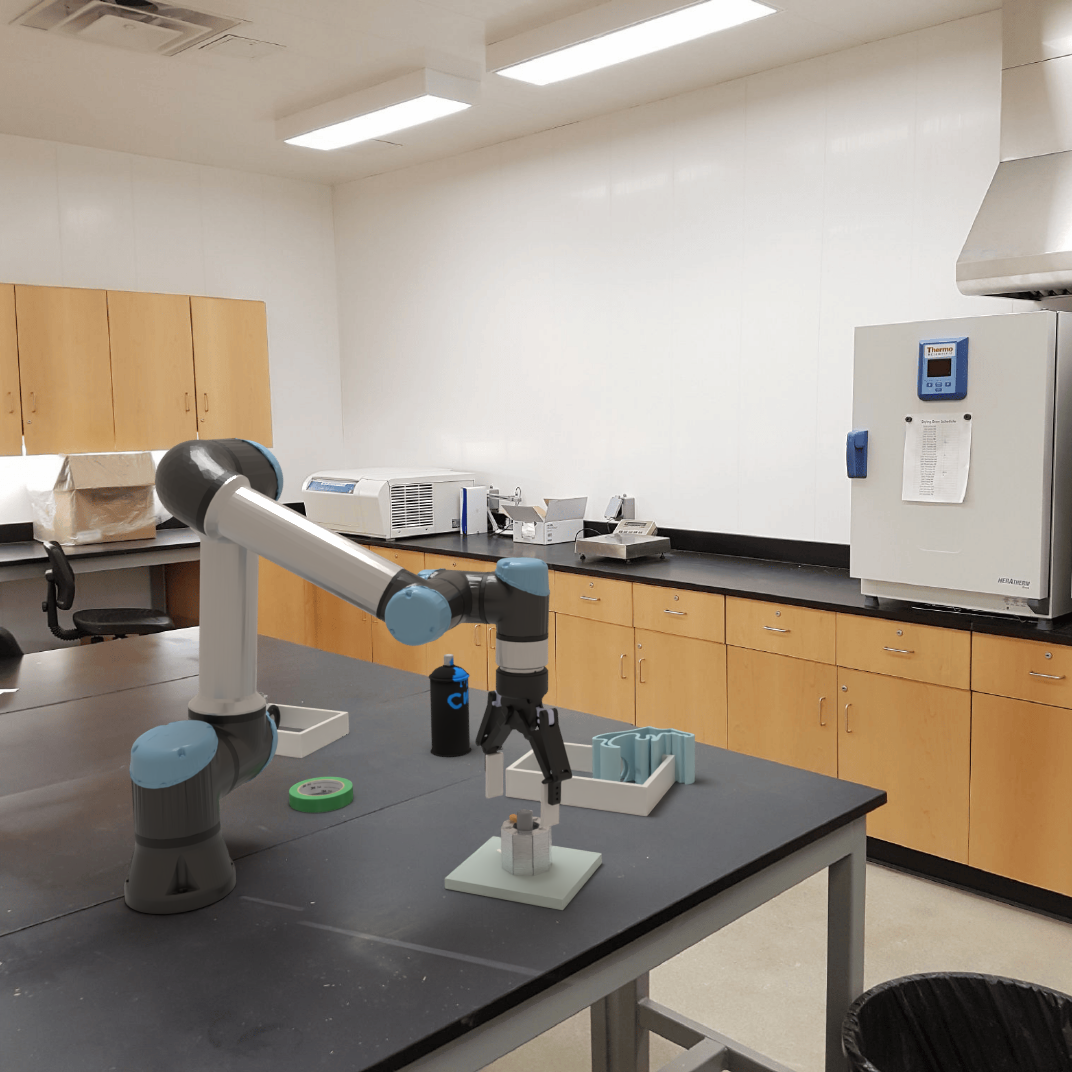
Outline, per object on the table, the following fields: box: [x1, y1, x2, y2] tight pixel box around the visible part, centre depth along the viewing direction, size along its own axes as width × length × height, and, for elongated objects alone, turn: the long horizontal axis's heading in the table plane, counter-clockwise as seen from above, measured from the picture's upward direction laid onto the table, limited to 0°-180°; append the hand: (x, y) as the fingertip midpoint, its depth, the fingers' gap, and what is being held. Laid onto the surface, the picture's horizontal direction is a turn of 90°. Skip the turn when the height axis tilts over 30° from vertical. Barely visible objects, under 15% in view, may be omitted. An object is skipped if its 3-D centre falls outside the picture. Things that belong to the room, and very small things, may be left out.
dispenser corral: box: [505, 741, 676, 817], centre depth 181 cm, size 18×26×5 cm
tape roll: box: [288, 776, 354, 814], centre depth 178 cm, size 11×11×3 cm
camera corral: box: [268, 702, 350, 759], centre depth 213 cm, size 17×24×5 cm
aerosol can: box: [428, 653, 472, 758], centre depth 203 cm, size 8×8×20 cm
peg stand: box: [444, 808, 603, 911], centre depth 146 cm, size 16×18×10 cm
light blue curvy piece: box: [591, 725, 696, 785], centre depth 184 cm, size 18×10×9 cm, turn 119°
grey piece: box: [500, 813, 553, 876], centre depth 146 cm, size 7×7×7 cm
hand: (521, 810), depth 146 cm, fingers open, 13 cm apart
